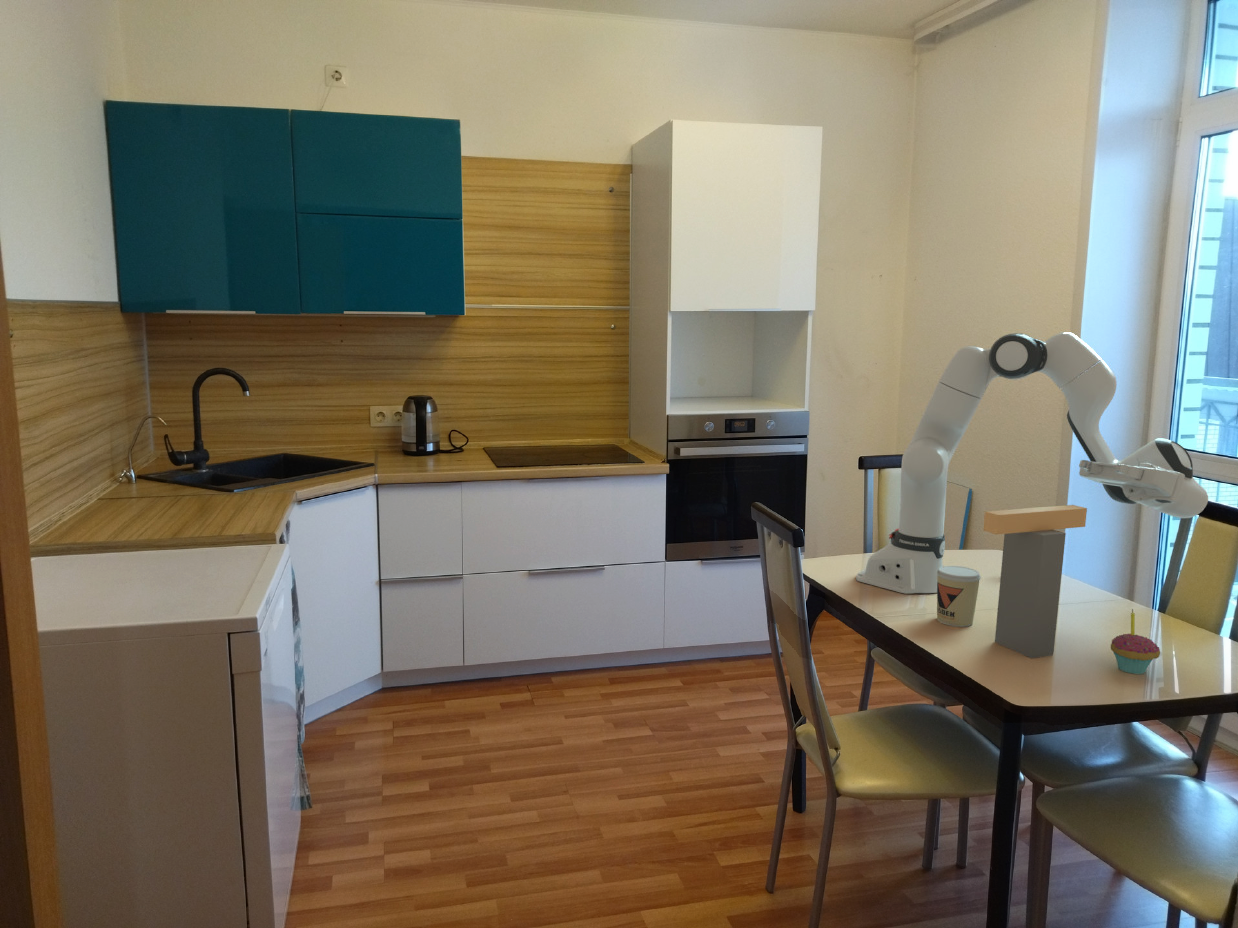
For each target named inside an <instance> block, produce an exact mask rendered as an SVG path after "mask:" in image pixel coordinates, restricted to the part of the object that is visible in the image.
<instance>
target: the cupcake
mask: <svg viewBox="0 0 1238 928" xmlns="http://www.w3.org/2000/svg"><path fill="white" fill-rule="evenodd" d="M1135 616H1136V615H1135V613H1134V609H1133V608H1131V613H1130V633H1124V634H1119V635H1117V636H1115V637H1113V638H1112V639H1111V643H1110V650H1111V651H1112V652H1113V655H1114V657H1115V659H1116V665H1117V668H1118V669H1119V671H1123V672H1125V673H1127V674H1128V673H1129V674H1133V675H1142V674H1143V675H1144V674H1145V673H1146V671H1148V670H1147V669H1148V668H1149V666H1150V664H1151V662H1152V661H1153V660H1155V659H1156V660H1157V659H1158V658H1159V657H1160V656H1161V649H1160V647H1158V645H1157V643H1155V642H1154V641H1153V640H1152V639H1150V638H1148V637H1147V636H1145V637H1144V636H1143V635H1139V634H1136V633H1135V631H1136V630H1135V625H1136V624H1135V622H1136V620H1135Z"/></svg>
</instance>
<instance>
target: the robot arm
mask: <svg viewBox="0 0 1238 928" xmlns="http://www.w3.org/2000/svg"><path fill="white" fill-rule="evenodd" d="M1035 373H1041V374H1044V375H1046V376H1047V377H1048V378H1050V379H1051V380H1052V382H1053V383H1054V384H1055V385H1056V386H1057V388H1059V390H1060V391H1061V392H1062V394H1063V396H1064V398H1065V400H1066V402H1067V405H1068V412H1067V413H1066V418H1067V421H1068V423H1069V426H1070V429H1071V430H1072V432H1073V434H1074V435H1075V437H1076V439H1077V441H1078V442H1079V445H1080V446H1081V448H1082V449H1083V451H1084V453H1085V454H1086V456H1087V458H1088V459H1089V460H1086V459H1081V460H1080V462H1079V464H1078V467H1079V468H1080V469H1079V472H1078V473H1079V476H1080V477H1082V478H1085V479H1088V480H1090V481H1091V482H1092V481H1093V482H1096V483H1099V484H1101V485H1102V486H1103V488H1104V490H1105V492H1106V494H1107V495H1108V496H1109V498H1111V499H1112V500H1113V501H1116V502H1118V503H1122V504H1127V505H1129V504H1130V505H1137V504H1140V505H1142V506H1145V507H1147V508H1153V509H1155V510H1156V511H1158V512H1160V513H1162V514H1165V515H1167V516H1170V517H1173V518H1174V517H1175V518H1179V519H1191V518H1193V517H1196V516H1197V515H1199V514H1200V513H1202V512H1203V511H1204V509H1205V508H1206V507H1207V505H1208V502H1209V495H1208V493H1207V491H1206V489H1205V488H1204V487H1202V486H1201V485H1200V484H1199V483H1198V482H1197V481H1196V480H1195V478H1194V477H1193V475H1194V470H1193V468H1194V467H1193V461H1192V458H1191V455H1190V454H1189V452H1188V451H1187V449H1186V448H1184V447H1183V446H1182V445H1181V444H1179V443H1177V442H1176V441H1174V440H1171V439H1168V438H1163V437H1158V438H1156V439H1153V440H1152V441H1150V442H1148V443H1146V444H1144V445H1143V446H1141V447H1140V448H1138V449H1137V450H1136V451H1134V452H1132V453H1131V454H1129V455H1128V456H1126V457H1124V458H1122V459H1121V460H1119V459H1117V458H1116V456H1115V455H1114V453H1113V452H1112V450H1111V448H1110V446H1109V445H1108V443H1107V442H1106V440H1105V439H1104V437H1103V435H1102V433H1101V431H1100V426H1099V425H1100V421H1101V418H1102V416H1103V415H1104V413H1105V411H1106V409H1107V408H1108V406H1109V405H1110V403H1111V402H1112V400H1113V399H1114V396H1115V394H1116V390H1117V377H1116V375H1115V374H1114V372H1113V370H1112V369H1111V368H1110V366H1109V365H1108V364H1107V363H1106V362H1105V360H1103V358H1102V357H1100V355H1099V354H1098V353H1097V352H1096V351H1095V350H1094V349H1093V348H1092V347H1091V346H1090V345H1089V344H1087V342H1085V341H1084V340H1083V339H1081V338H1080V337H1079V336H1077V335H1075V333H1072V332H1069V331H1068V332H1067V331H1066V332H1065V331H1064V332H1059V333H1056V334H1054V335H1052V336H1050V337H1049V338H1048V339H1046V340H1045V341H1044V340H1043V341H1042V340H1039V339H1037V338H1034V337H1032V336H1030V335H1029V334H1026V333H1022V332H1021V333H1020V332H1015V333H1008V334H1006V335H1002V336H1000V337H999V338H998V339H996V340H995V341H994V343H993V344H992V346H991V347H990V348H986V349H985V348H982V347H978V346H972V345H968V346H964V347H961V348H959V350H957V351H956V353H955V354H954V355H953V357H952V358H951V360H950V361H949V362H948V364H947V366H946V368H945V369H944V370H943V372H942V374H941V376H940V378H939V380H938V383H937V385H936V386H935V388H934V391H933V392H932V395H931V397H930V399H929V402H928V403H927V405H926V408H925V409H924V412H923V414H922V417H921V418H920V420H919V423H918V425H917V427H916V429H915V431H914V434H913V435H912V438H911V440H910V441H909V444H908V446H907V447H906V448H905V451H904V452H903V454H902V458H901V470H900V471H901V473H900V504H899V505H900V506H899V522H898V527H897V528H896V529H895V530H894V531H893V532H891V533H890V534H888V536H889V537H888V539H890V543H889V544H887V545H886V546H883V548H880V549H879V550H877V551H876V552H874V553H872V554H871V555H870V556H869V558H868V560H867V562H866V564H865V565H866V566H865V569H863V570H860V571H859V572H858V573H857V574H856V577H855V578H856V581H857V582H860V583H864V584H866V585H867V584H868V585H871V586H874V587H878V588H883V589H886V590H889V591H894V592H898V593H900V594H905V595H909V594H937V576H938V575H937V571H938V569H939V568H940V567H943V565H944V564H943V557H944V554H945V547H946V541H945V539H946V536H945V532H944V528H945V516H946V505H947V504H946V503H947V486H948V485H947V484H948V470H949V464H950V462H951V460H952V458H953V456H954V454H955V452H956V450H957V448H958V447H959V444H960V442H961V440H962V438H963V436H964V435H965V433H966V431H967V429H968V428H969V425H970V423H971V421H972V419H973V416H974V415H975V413H976V411H977V409H978V407H979V405H980V403H981V400H982V399H983V396H985V393H986V390H987V389H988V386H990V384H991V382H993V380H994V379H996V378H998V377H999V378H1004V379H1007V380H1012V381H1013V380H1014V381H1015V380H1022V379H1025V378H1027V377H1028V376H1031V375H1032V374H1035Z"/></svg>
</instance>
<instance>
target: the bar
mask: <svg viewBox="0 0 1238 928" xmlns="http://www.w3.org/2000/svg"><path fill="white" fill-rule="evenodd" d="M1087 512H1088V508H1087V507H1084V506H1079V505H1076V504H1066V505H1055V506H1054V505H1053V506H1051V505H1050V506H1043V507H1042V506H1040V507H1037V506H1036V507H1027V508H1024V507H1023V508H1015V509H1013V508H1011V509H1001V510H1000V509H999V510H998V509H997V510H987V511H984V518H983V528H982V529H983V530H982V531H983V532H987V533H990V534H994V535H995V536H996V535H1004V534H1009V533H1020V532H1032V531H1043V530H1063V529H1074V528H1075V529H1076V528H1085V527H1086V523H1087V514H1088V513H1087Z"/></svg>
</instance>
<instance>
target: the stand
mask: <svg viewBox="0 0 1238 928" xmlns="http://www.w3.org/2000/svg"><path fill="white" fill-rule="evenodd" d="M1003 535H1004V537H1003V545H1002V547H1003V548H1002V557H1001V571H1000V578H999V579H1000V581H999V591H998V602H997V612H996V613H997V614H996V625H995V634H994V635H995V636H994V643H996V644H999V645H1001V646H1003V647H1005V648H1007V649H1010V650H1011V651H1013V652H1017V653H1018V654H1020V655H1023V656H1025V657H1027V658H1030V659H1035V658H1037V659H1038V658H1042V657H1043V658H1044V657H1050V656H1054V653H1055V652H1054V651H1055V644H1056V643H1055V642H1056V634H1057V633H1056V632H1057V624H1058V623H1057V622H1058V612H1059V604H1060V594H1061V583H1062V575H1063V565H1064V564H1063V562H1064V554H1065V544H1066V535H1067V534H1066V532H1063V531H1059V530H1057V529H1054V530H1043V531H1032V532H1020V533H1009V534H1003Z"/></svg>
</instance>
